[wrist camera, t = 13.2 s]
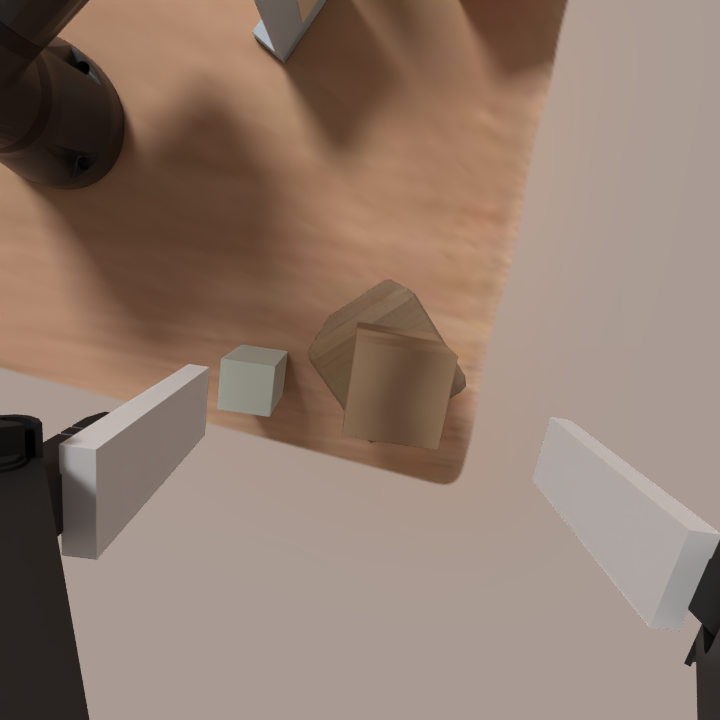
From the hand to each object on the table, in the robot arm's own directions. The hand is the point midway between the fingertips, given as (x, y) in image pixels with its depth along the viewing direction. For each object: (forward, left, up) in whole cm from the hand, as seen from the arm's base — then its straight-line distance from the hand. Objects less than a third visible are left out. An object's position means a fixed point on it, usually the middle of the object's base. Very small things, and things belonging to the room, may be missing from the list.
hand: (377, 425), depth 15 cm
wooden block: (+2, -2, -37) cm, 37 cm away
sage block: (-12, -10, -37) cm, 40 cm away
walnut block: (+2, -2, -17) cm, 17 cm away
